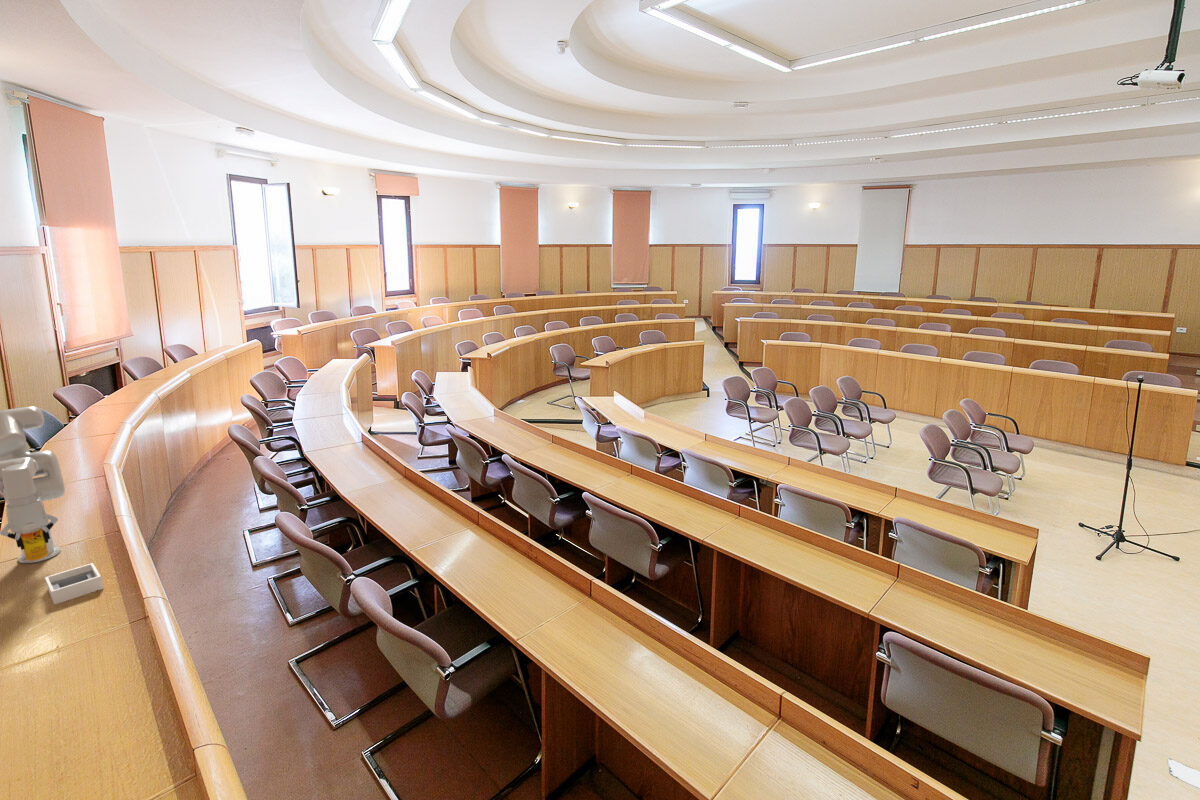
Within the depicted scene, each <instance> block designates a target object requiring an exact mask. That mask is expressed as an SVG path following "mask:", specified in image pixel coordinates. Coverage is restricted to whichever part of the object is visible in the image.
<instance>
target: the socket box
mask: <svg viewBox="0 0 1200 800" xmlns="http://www.w3.org/2000/svg"><path fill="white" fill-rule="evenodd" d="M44 579H45V583H46V587H47V590H48V593H49V596H50V598H51V600H52V602H53V604H54V605H57V604H61V603H64V602H66V601H70V600H73V599H77V598H78V597H82V596H86V595H89V594H91V592H92V593H94V592H98V591H100V590H104V584H103V580H102V575H101V574H100V572H99V571H98V569H97V567H96V566H95V564H94V563H93V562H90V563H88V564H85V565H80V566H77V567H75V568H74V567H73V568H71V569H68V570H64V571H61V572H57V573H55V574H52V575H47V576H45V577H44ZM97 590H98V591H97Z"/></svg>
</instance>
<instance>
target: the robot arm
mask: <svg viewBox="0 0 1200 800" xmlns="http://www.w3.org/2000/svg"><path fill="white" fill-rule="evenodd" d="M44 424H45V417H44V414H43V411H42V409H40V408H39V407H38V406H34V405H33V406H32V405H31V406H24V407H19V408H18V407H15V408H10V409H9V408H8V409H3V410H0V484H3V487H4V488H3V489H2V495H3V498H4V501H5V502H6V506H5V507H6V508H5V512H6V518H7V523H6V524H5V525H4V527H3V528H2V529H1V530H0V535H1V536H4V537H7V538H10V539H12V540H15V543H16V546H17V548H20V550H21V554H19V556H18V557H17V561H18V562H19V563H20V564H33V563H39V562H43V561H47V560H48V559H52V558H53V557H55V556H57V555H58V554H60V552H61V547H60V546H59V545H55V543H54V539H53V535H52V531H51V529H52V528H53V527H54V525H55V524H56V523H57V522H58V521H59V518H58V517H57V516H54V515H51V514H49V513H47V511H46V507H45V505H44V503H43V502H46V501H52V500H55V499H58V498H61V497H63V496H64V495H65V493H66V487H65V483H64V478H63V474H62V470H61V466H60V463H59V459H58V457H57V455H56V454H55V452H54V451H52V450H39V451H33V452H31V451H30V448H29V443H28V441H27V438H26V437H27V436H26V435H25V431H28V430H33V429H40V428H43V426H44ZM49 520H50V522H49ZM33 522H35V523H37V524H38V525H39V527H41V528H42V529H43V534H44V538H45V542H46V545H47V549H48V553H49V554H48V555H47V557H46V558H45V559H43V560H40V561H36V562H30V561H28V560H26V556H25V553H24V546H23V542H22V539H21V538H20V535H21V532H22V528H23V526H24V525H25V524H30V523H33ZM9 530H10V531H11V532H9Z"/></svg>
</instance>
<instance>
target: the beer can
mask: <svg viewBox="0 0 1200 800" xmlns="http://www.w3.org/2000/svg"><path fill="white" fill-rule="evenodd" d="M20 538H21V539H22V542H23V546H24V553H25V556H26V560H28V561H30V562H35V563H37V562H36V561H40V560H43V559H45V558H46V557H47V555H48V554H49V553H48V549H47V545H46V542H45V538H44V534H43V529H42V528H41V527H39V525H38V524H37V523H35V522H33V523H30V524H25V525H24V526H23V528H22V532H21V535H20ZM43 561H44V560H43ZM40 562H41V561H40Z"/></svg>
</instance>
